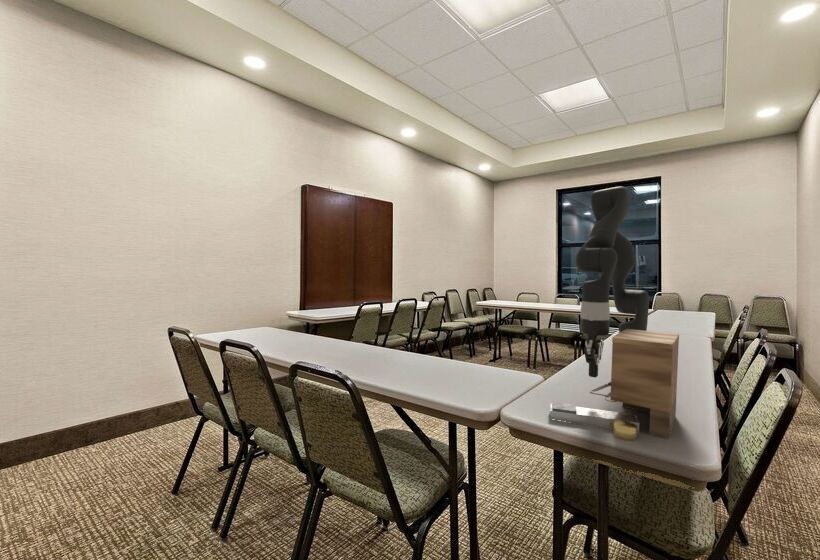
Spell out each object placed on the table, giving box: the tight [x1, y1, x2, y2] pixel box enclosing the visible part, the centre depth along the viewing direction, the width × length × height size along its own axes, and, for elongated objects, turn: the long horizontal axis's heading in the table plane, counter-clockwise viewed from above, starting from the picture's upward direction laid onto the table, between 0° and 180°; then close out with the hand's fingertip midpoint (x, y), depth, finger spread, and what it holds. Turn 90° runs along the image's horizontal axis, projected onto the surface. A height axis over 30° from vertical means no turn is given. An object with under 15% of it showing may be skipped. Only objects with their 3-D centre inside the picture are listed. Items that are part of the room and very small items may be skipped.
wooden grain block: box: [609, 329, 680, 440], centre depth 104 cm, size 19×13×23 cm
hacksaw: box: [589, 381, 618, 403], centre depth 129 cm, size 24×10×2 cm, turn 128°
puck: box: [613, 421, 638, 442], centre depth 94 cm, size 5×5×3 cm
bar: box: [549, 401, 640, 434], centre depth 103 cm, size 6×21×4 cm, turn 70°
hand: (593, 376), depth 111 cm, fingers closed
